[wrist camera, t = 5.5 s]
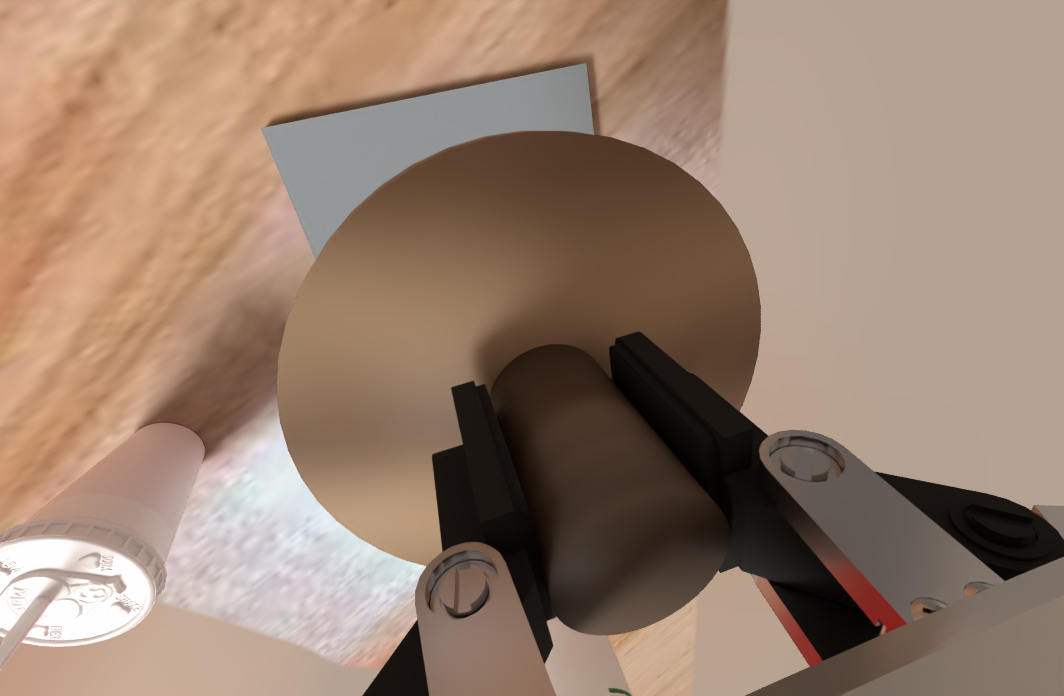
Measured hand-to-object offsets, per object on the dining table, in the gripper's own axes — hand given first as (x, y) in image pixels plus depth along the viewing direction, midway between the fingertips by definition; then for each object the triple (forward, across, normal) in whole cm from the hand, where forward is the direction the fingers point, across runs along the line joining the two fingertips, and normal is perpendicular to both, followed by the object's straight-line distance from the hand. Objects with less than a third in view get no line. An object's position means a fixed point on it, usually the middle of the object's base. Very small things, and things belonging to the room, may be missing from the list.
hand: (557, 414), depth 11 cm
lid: (+2, 0, 0) cm, 2 cm away
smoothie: (+18, +20, +8) cm, 28 cm away
